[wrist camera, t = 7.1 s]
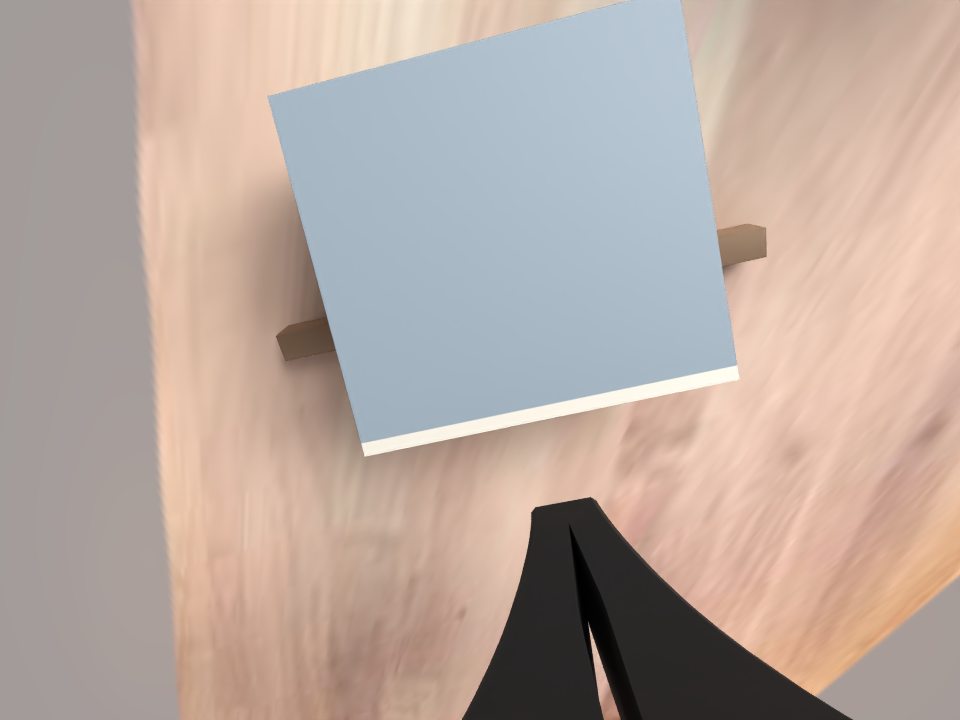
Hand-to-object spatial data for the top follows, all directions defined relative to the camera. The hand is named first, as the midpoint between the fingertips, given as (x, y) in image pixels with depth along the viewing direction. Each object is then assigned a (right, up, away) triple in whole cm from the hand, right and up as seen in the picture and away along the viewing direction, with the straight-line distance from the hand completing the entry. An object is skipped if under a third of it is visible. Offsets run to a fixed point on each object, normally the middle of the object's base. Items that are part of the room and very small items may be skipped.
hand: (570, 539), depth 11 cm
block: (0, +3, +2) cm, 3 cm away
